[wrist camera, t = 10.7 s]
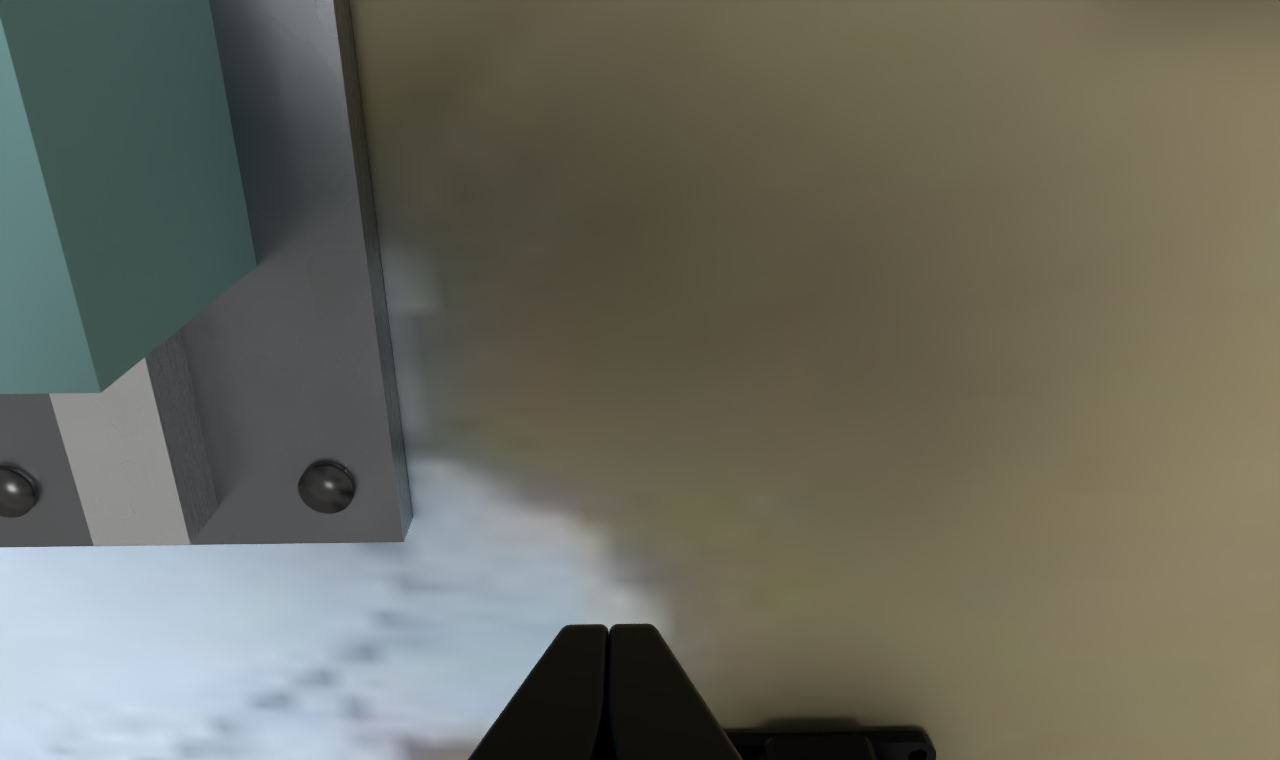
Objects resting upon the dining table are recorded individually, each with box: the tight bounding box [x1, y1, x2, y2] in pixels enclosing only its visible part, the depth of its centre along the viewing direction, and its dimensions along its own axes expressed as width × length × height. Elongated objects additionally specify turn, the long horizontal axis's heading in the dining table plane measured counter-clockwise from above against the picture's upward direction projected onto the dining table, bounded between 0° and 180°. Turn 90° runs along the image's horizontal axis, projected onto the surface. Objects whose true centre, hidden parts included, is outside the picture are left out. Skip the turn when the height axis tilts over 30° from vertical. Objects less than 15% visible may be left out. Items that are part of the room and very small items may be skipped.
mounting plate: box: [0, 0, 413, 547], centre depth 17 cm, size 20×10×2 cm, turn 0°
